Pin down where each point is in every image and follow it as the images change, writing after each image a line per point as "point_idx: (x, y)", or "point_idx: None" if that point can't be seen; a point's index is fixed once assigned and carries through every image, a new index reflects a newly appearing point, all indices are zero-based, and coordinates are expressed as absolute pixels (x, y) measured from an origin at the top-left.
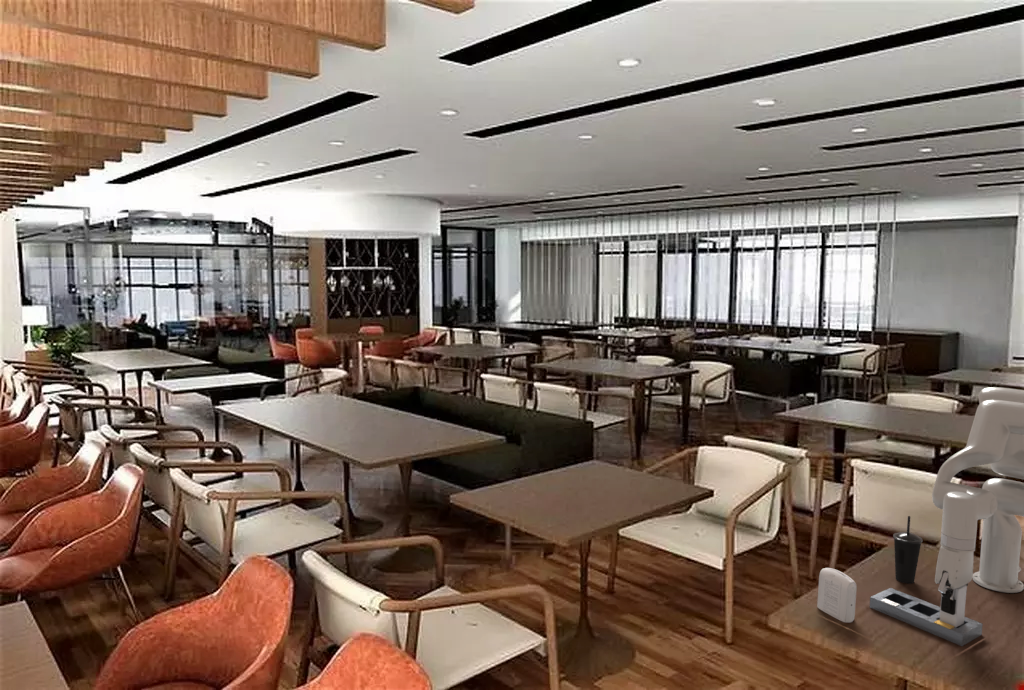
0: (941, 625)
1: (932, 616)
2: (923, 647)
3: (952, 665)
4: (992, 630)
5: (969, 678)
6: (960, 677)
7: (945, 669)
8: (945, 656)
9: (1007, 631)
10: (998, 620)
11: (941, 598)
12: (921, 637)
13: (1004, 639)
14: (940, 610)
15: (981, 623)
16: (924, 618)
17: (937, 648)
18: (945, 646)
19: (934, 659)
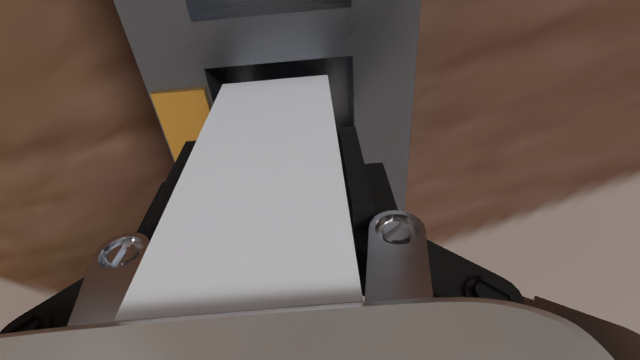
0: (167, 135)
1: (217, 32)
2: (27, 111)
3: (61, 234)
4: (489, 164)
5: (63, 286)
6: (34, 275)
7: (11, 237)
8: (82, 193)
9: (527, 193)
10: (629, 127)
11: (181, 180)
12: (90, 44)
13: (440, 218)
14: (208, 119)
15: (401, 208)
16: (130, 21)
17: (95, 145)
18: (149, 151)
19: (12, 187)
